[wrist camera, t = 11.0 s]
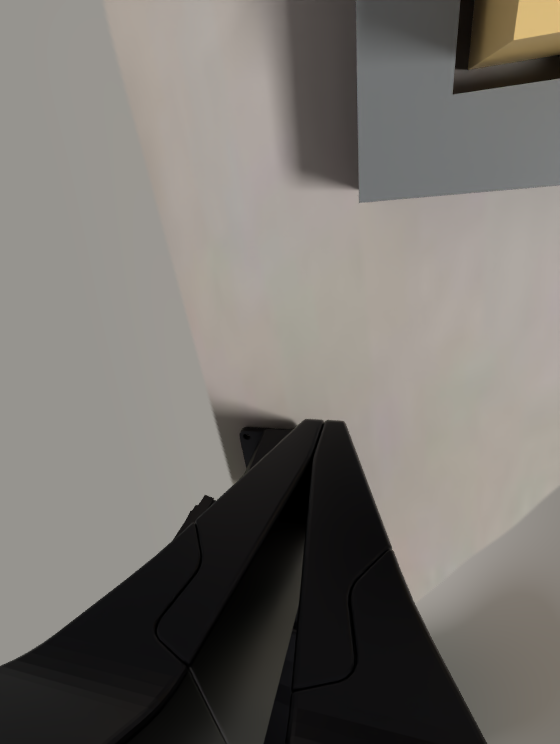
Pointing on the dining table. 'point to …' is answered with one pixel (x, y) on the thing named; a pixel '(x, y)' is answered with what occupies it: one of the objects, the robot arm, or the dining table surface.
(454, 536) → the dining table surface
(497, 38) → the plug
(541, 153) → the socket
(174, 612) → the robot arm
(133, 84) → the dining table surface
